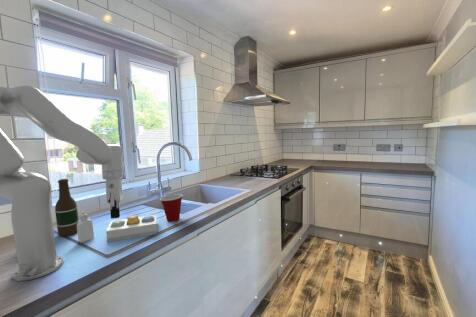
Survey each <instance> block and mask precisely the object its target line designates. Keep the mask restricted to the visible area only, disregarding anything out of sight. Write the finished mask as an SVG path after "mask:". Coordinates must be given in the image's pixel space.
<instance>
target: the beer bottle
mask: <svg viewBox="0 0 476 317" xmlns="http://www.w3.org/2000/svg"><path fill="white" fill-rule="evenodd" d="M57 183H58V200H57V202H56V203H55V208H54V213H55V221H56V228H57V235H58V236H59V237H63V238H64V237H70V236H73V235H76V234H77V223H78V222H80V221H79V214H78V213H79V212H78V205H77V202H76V200H75V199H74V198H73V197H72V196H71V195H72V194H71V192H70V191H71V190H70V187H69V179H68V178H61V179H59V180H58V181H57Z"/></svg>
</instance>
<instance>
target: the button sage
mask: <svg viewBox="0 0 476 317" xmlns="http://www.w3.org/2000/svg"><path fill="white" fill-rule="evenodd" d="M116 220H117V221H114V220H113V221H114V222H112V227H118V226H124V222H123V220H121V219H116Z"/></svg>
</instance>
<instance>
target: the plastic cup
mask: <svg viewBox="0 0 476 317" xmlns="http://www.w3.org/2000/svg"><path fill="white" fill-rule="evenodd" d="M182 197H183V194H181V193H174V194H167V195H164V196H162V197H160V198H159V200H160V202H161V204H162V206H163V210H164V215H165V218H166V221H167V222H168V223H175V222H178V221H179V220H180V218H181V217H180V215H181V207H182V199H183V198H182Z"/></svg>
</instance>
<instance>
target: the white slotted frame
mask: <svg viewBox="0 0 476 317" xmlns="http://www.w3.org/2000/svg"><path fill="white" fill-rule="evenodd" d="M146 216H147V215H145V216H143V215H142V216H138V219H139V223H138V224H132V225H128V221H127V218H121V219H120V220H123V222H124V226H118V227H112V222H114V221H117V220H118V219H115V220H114V219H113V220H110V221H109V224H108V227H107V228H106V230H105V233H106V235H105V236H106V242H107V243H109V242H115V241H123V240H127V239H135V238H139V237H140V236H141V237H145V235H147V236H151V235H150V234H153V235H158V225H157V224H158V223H157V214H151V215H149V216H153V221H152V222H145V223H143V219H142V218H143V217H146Z"/></svg>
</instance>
